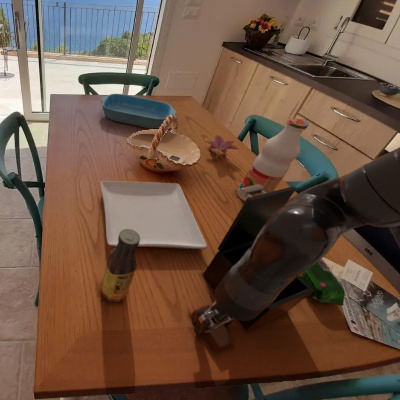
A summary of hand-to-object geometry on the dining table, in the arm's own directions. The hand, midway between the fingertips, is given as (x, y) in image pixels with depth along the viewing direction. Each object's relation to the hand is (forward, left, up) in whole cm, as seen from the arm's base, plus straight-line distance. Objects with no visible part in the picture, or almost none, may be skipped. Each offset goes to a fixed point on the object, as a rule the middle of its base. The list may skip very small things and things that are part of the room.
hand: (210, 328), depth 58 cm
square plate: (+34, -4, -1) cm, 34 cm away
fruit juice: (+32, -45, -1) cm, 55 cm away
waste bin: (+4, -14, -1) cm, 15 cm away
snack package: (+2, -33, -1) cm, 33 cm away
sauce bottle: (+15, +16, -1) cm, 22 cm away
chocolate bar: (0, 0, -1) cm, 1 cm away
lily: (+57, -52, -1) cm, 77 cm away
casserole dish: (+97, -35, -1) cm, 103 cm away
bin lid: (+12, -14, +17) cm, 25 cm away
